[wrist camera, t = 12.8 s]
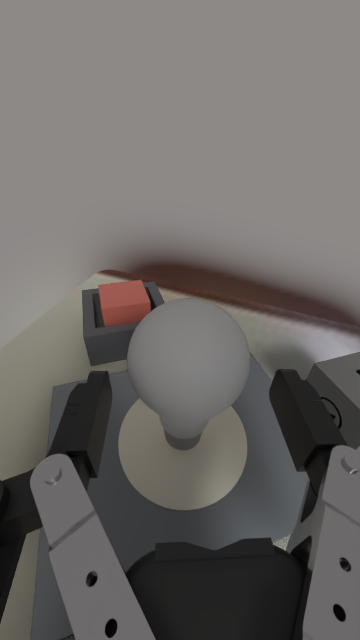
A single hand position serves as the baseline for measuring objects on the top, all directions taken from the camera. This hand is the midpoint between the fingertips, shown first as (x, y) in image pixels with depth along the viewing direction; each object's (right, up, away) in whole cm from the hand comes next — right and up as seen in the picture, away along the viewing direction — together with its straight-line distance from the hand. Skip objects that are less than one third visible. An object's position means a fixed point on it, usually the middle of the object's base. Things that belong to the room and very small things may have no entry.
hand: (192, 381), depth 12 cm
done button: (-6, +4, +14) cm, 16 cm away
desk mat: (0, -6, +6) cm, 8 cm away
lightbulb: (0, -5, +6) cm, 8 cm away
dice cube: (+12, -5, +8) cm, 15 cm away
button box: (-6, +2, +15) cm, 17 cm away
